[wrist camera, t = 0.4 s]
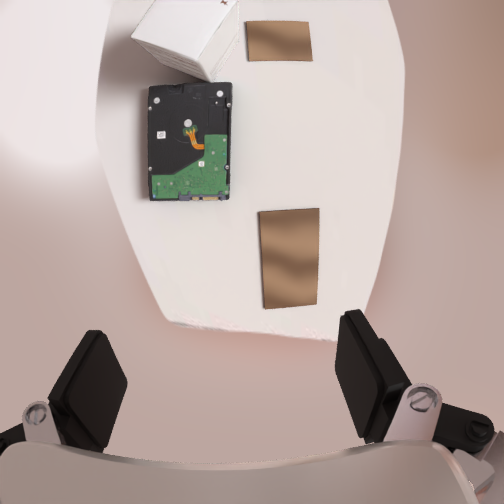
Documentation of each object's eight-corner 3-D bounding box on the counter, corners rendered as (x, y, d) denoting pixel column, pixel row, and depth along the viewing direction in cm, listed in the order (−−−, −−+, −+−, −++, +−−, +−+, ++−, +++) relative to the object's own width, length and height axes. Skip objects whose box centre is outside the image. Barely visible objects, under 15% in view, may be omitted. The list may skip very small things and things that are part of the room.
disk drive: (153, 89, 32) (154, 198, 37) (146, 86, 29) (148, 202, 34) (232, 85, 32) (231, 196, 38) (232, 80, 29) (230, 201, 35)
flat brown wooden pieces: (246, 22, 28) (246, 21, 28) (307, 22, 28) (308, 21, 28) (264, 308, 44) (264, 309, 43) (316, 303, 44) (316, 304, 44)
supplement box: (190, 20, 27) (171, -24, 16) (240, 41, 29) (242, -1, 17) (161, 65, 30) (127, 37, 18) (211, 86, 31) (197, 62, 20)
